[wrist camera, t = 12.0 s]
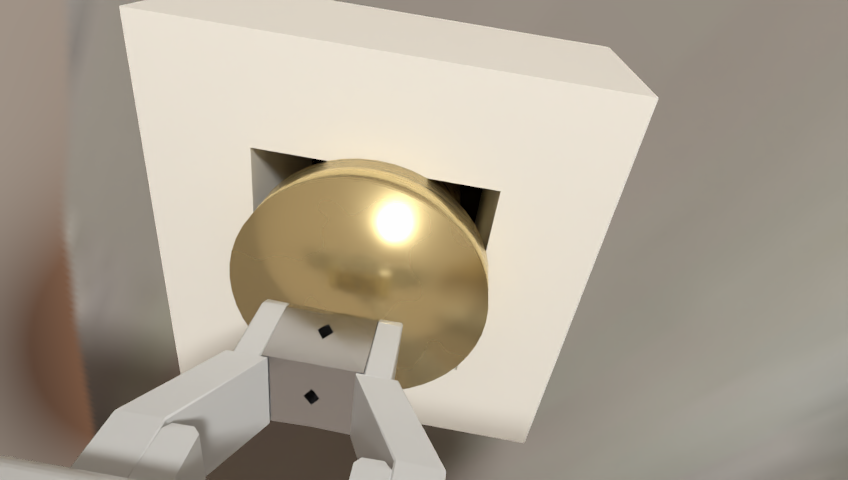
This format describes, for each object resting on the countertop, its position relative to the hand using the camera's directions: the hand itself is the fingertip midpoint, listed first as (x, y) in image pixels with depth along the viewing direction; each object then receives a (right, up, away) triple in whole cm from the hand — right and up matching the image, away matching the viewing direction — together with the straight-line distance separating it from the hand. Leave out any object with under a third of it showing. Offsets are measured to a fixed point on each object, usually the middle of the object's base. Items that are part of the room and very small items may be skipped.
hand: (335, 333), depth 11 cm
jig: (+1, +4, +6) cm, 7 cm away
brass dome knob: (+1, +4, +6) cm, 7 cm away
